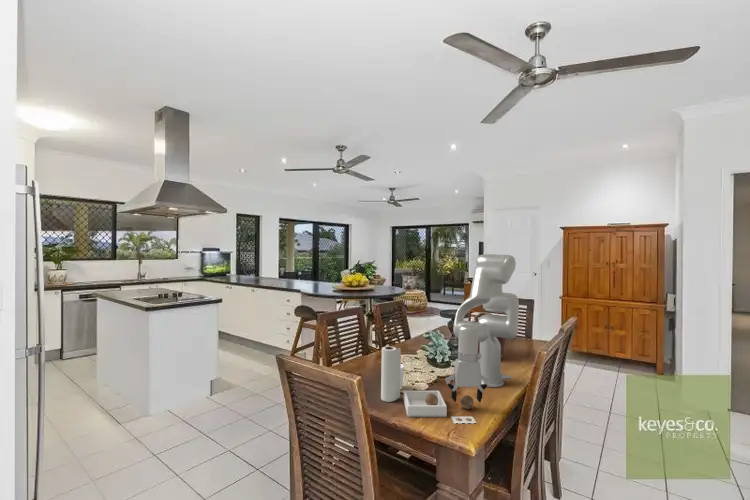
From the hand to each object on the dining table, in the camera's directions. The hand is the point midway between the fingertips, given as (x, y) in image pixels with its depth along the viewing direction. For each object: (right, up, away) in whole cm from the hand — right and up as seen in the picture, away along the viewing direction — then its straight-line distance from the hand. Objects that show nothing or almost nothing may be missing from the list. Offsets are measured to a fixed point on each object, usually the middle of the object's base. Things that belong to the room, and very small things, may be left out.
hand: (466, 400), depth 145 cm
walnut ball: (0, -1, 0) cm, 1 cm away
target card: (-3, -4, -10) cm, 11 cm away
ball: (-14, 0, 0) cm, 14 cm away
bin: (-17, -3, 0) cm, 17 cm away
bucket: (+29, -3, +68) cm, 74 cm away
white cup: (-27, -3, +20) cm, 34 cm away
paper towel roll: (-30, -3, +8) cm, 31 cm away
